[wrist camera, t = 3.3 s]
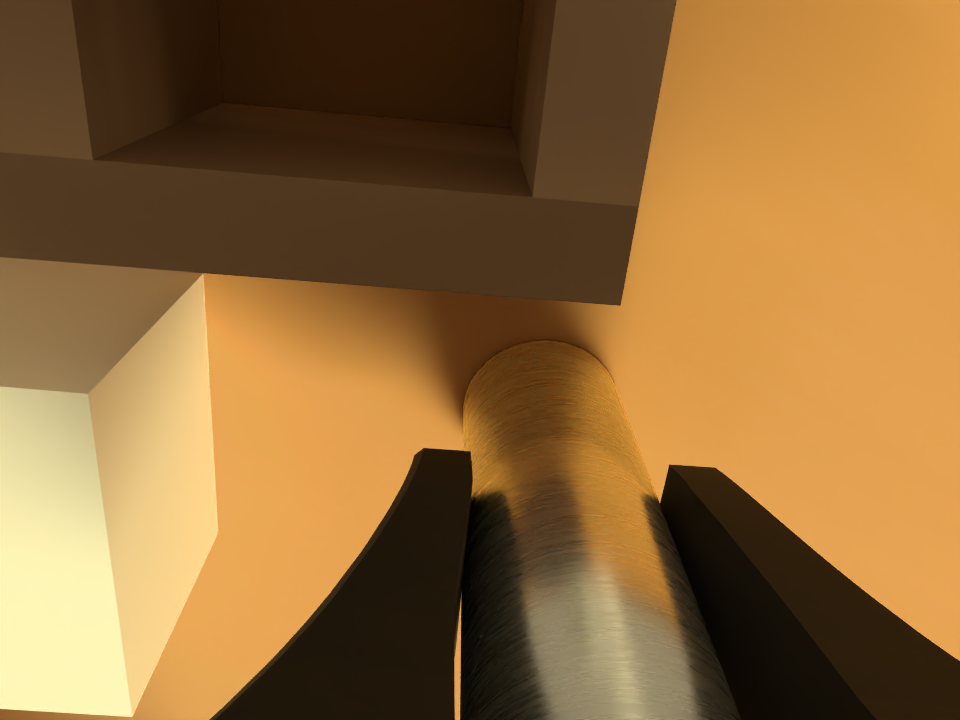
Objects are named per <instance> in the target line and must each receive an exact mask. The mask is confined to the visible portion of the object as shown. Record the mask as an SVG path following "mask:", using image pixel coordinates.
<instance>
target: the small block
mask: <svg viewBox="0 0 960 720" xmlns="http://www.w3.org/2000/svg"><path fill="white" fill-rule="evenodd" d="M217 534H218V521H217V503H216V486H215V468H214V451H213V433H212V415H211V398H210V380H209V363H208V345H207V327H206V310H205V292H204V275H203V273H194V272H184V271H172V270H159V269H146V268H133V267H120V266H108V265H95V264H82V263H69V262H56V261H44V260H31V259H18V258H5V257H0V709H11V710H28V711H44V712H61V713H77V714H93V715H110V716H126V717H132V716H133V714H134V712H135V710H136V708H137V706H138V703H139V701H140V699H141V697H142V695H143V693H144V691H145V688H146V686H147V684H148V682H149V680H150V678H151V676H152V673H153V671H154V669H155V667H156V665H157V663H158V661H159V658H160V656H161V654H162V652H163V650H164V648H165V646H166V643H167V641H168V639H169V637H170V635H171V633H172V631H173V628H174V626H175V624H176V622H177V620H178V618H179V616H180V614H181V611H182V609H183V607H184V605H185V603H186V601H187V599H188V596H189V594H190V592H191V590H192V588H193V586H194V584H195V581H196V579H197V577H198V575H199V573H200V571H201V569H202V566H203V564H204V562H205V560H206V558H207V556H208V554H209V551H210V549H211V547H212V545H213V543H214V541H215V539H216V536H217Z"/></svg>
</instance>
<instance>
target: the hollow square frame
mask: <svg viewBox="0 0 960 720" xmlns="http://www.w3.org/2000/svg"><path fill="white" fill-rule="evenodd" d="M675 5H676V0H524V2H523V12H522V22H521V31H520V41H519V51H518V60H517V70H516V80H515V89H514V99H513V109H512V118H511V128H499V127H487V126H476V125H465V124H454V123H443V122H432V121H421V120H410V119H399V118H387V117H376V116H365V115H354V114H343V113H332V112H321V111H310V110H299V109H287V108H276V107H265V106H254V105H243V104H232V103H223V100H222V82H221V65H220V48H219V30H218V13H217V0H0V257H5V258H18V259H31V260H44V261H56V262H69V263H82V264H95V265H108V266H120V267H133V268H146V269H159V270H172V271H184V272H197V273H210V274H223V275H236V276H248V277H261V278H274V279H287V280H300V281H312V282H325V283H338V284H351V285H364V286H376V287H389V288H402V289H415V290H428V291H440V292H453V293H466V294H479V295H492V296H504V297H517V298H530V299H543V300H555V301H568V302H581V303H594V304H607V305H619V306H620V305H621V300H622V294H623V289H624V283H625V278H626V272H627V267H628V262H629V256H630V251H631V245H632V240H633V234H634V229H635V223H636V218H637V212H638V207H639V202H640V196H641V191H642V185H643V180H644V174H645V169H646V163H647V158H648V152H649V147H650V142H651V136H652V131H653V125H654V120H655V114H656V109H657V103H658V98H659V93H660V87H661V82H662V76H663V71H664V65H665V60H666V54H667V49H668V43H669V38H670V33H671V27H672V22H673V16H674V11H675Z"/></svg>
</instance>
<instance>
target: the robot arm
mask: <svg viewBox="0 0 960 720" xmlns="http://www.w3.org/2000/svg"><path fill="white" fill-rule="evenodd" d="M472 484H473V473H472V460H471V451H458V450H443V449H428V448H423V449H422V450H421V451H419V452H418V453H417V454H415V455H414V459H413V462H412V465H411V468H410V470H409V472H408V475H407V477H406V479H405V481H404V483H403V485H402V487H401V489H400V491H399V493H398V494H397V496H396V498H395V500H394V501H393V503H392V505H391V507H390V509H389V510H388V512H387V513H386V515H385V516H384V518H383V520H382V521H381V523H380V524H379V526H378V527H377V529H376V530H375V532H374V534H373V535H372V537H371V538H370V540H369V541H368V543H367V544H366V546H365V547H364V549H363V550H362V552H361V553H360V554H359V556H358V557H357V558H356V560H355V561H354V562H353V564H352V565H351V566H350V568H349V569H348V570H347V572H346V573H345V574H344V575H343V577H342V578H341V579H340V581H339V582H338V583H337V585H336V586H335V587H334V589H333V590H332V591H331V593H330V594H329V595H328V596H327V598H326V599H325V600H324V601H323V603H322V604H321V605H320V606H319V607H318V609H317V610H316V611H315V612H314V613H313V614H312V616H311V617H310V618H309V619H308V620H307V621H306V623H305V624H304V625H303V626H302V627H301V628H300V629H299V631H298V632H297V633H296V634H295V635H294V636H293V637H292V638H291V639H290V640H289V641H288V643H287V644H286V645H285V646H284V647H283V648H282V649H281V650H280V651H279V652H278V653H277V654H276V656H275V657H274V658H273V659H272V660H271V661H270V662H269V663H268V664H267V665H266V666H265V667H264V668H263V669H262V670H261V671H260V672H259V673H258V674H257V675H256V676H255V677H254V678H253V679H252V680H250V681H249V682H248V683H247V684H246V685H245V686H244V687H243V688H242V689H241V690H240V691H239V692H238V693H237V694H236V695H235V696H234V697H233V698H232V699H231V700H230V701H229V702H228V703H227V704H226V705H225V706H224V707H223V708H222V709H221V710H220V711H218V712H217V713H216V714H215V715H214V716H213V717H212V718H211V719H210V720H455V711H454V657H455V649H456V641H457V631H458V621H459V611H460V602H461V592H462V577H463V569H464V561H465V553H466V543H467V533H468V523H469V514H470V504H471V494H472ZM660 506H661V508H662V511H663V514H664V516H665V519H666V522H667V524H668V527H669V530H670V532H671V535H672V538H673V540H674V543H675V546H676V548H677V551H678V553H679V556H680V559H681V561H682V564H683V567H684V569H685V572H686V575H687V577H688V580H689V583H690V585H691V588H692V590H693V593H694V596H695V598H696V601H697V604H698V606H699V609H700V612H701V614H702V617H703V620H704V622H705V625H706V628H707V630H708V633H709V635H710V638H711V641H712V643H713V646H714V649H715V651H716V654H717V657H718V659H719V662H720V665H721V667H722V670H723V672H724V675H725V678H726V680H727V683H728V686H729V688H730V691H731V694H732V696H733V699H734V702H735V704H736V707H737V710H738V712H739V715H740V717H741V720H960V661H959V660H957V659H956V658H954V657H953V656H951V655H950V654H948V653H947V652H945V651H944V650H943V649H941V648H940V647H938V646H937V645H936V644H934V643H933V642H931V641H930V640H928V639H927V638H926V637H924V636H923V635H922V634H920V633H919V632H917V631H916V630H915V629H913V628H912V627H911V626H909V625H908V624H907V623H906V622H904V621H903V620H902V619H900V618H899V617H898V616H896V615H895V614H894V613H892V612H891V611H890V610H888V609H887V608H886V607H884V606H883V605H882V604H880V603H879V602H878V601H876V600H875V599H874V598H872V597H871V596H870V595H869V594H867V593H866V592H865V591H864V590H862V589H861V588H860V587H858V586H857V585H856V584H855V583H853V582H852V581H851V580H850V579H848V578H847V577H846V576H845V575H843V574H842V573H841V572H840V571H839V570H837V569H836V568H835V567H834V566H832V565H831V564H830V563H829V562H828V561H826V560H825V559H824V558H823V557H822V556H820V555H819V554H818V553H817V552H816V551H814V550H813V549H812V548H811V547H810V546H808V545H807V544H806V543H805V542H804V541H802V540H801V539H800V538H799V537H798V536H797V535H795V534H794V533H793V532H792V531H791V530H790V529H788V528H787V527H786V526H785V525H784V524H783V523H781V522H780V521H779V520H778V519H777V518H776V517H774V516H773V515H772V514H771V513H770V512H769V511H767V510H766V509H765V508H764V507H763V506H762V505H760V504H759V503H758V502H757V501H756V500H755V499H753V498H752V497H751V496H750V495H749V494H748V493H746V492H745V491H744V490H743V489H742V488H740V487H739V486H738V485H737V484H736V483H734V482H733V481H732V480H731V479H729V478H728V477H727V476H726V475H724V474H723V473H722V472H720V471H719V470H718V469H716V468H711V467H696V466H682V465H669V469H668V473H667V477H666V481H665V486H664V490H663V494H662V498H661V502H660Z"/></svg>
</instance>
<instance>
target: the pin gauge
mask: <svg viewBox="0 0 960 720" xmlns="http://www.w3.org/2000/svg"><path fill="white" fill-rule="evenodd" d="M463 451H471V460H472V473H473V484H472V494H471V504H470V514H469V523H468V533H467V543H466V553H465V561H464V569H463V577H462V595H461V696H460V720H741V717H740V715H739V712H738V710H737V707H736V704H735V702H734V699H733V696H732V694H731V691H730V688H729V686H728V683H727V680H726V678H725V675H724V672H723V670H722V667H721V665H720V662H719V659H718V657H717V654H716V651H715V649H714V646H713V643H712V641H711V638H710V635H709V633H708V630H707V628H706V625H705V622H704V620H703V617H702V614H701V612H700V609H699V606H698V604H697V601H696V598H695V596H694V593H693V590H692V588H691V585H690V583H689V580H688V577H687V575H686V572H685V569H684V567H683V564H682V561H681V559H680V556H679V553H678V551H677V548H676V546H675V543H674V540H673V538H672V535H671V532H670V530H669V527H668V524H667V522H666V519H665V516H664V514H663V511H662V508H661V506H660V503H659V501H658V498H657V495H656V493H655V490H654V487H653V485H652V482H651V479H650V477H649V474H648V471H647V469H646V466H645V464H644V461H643V458H642V456H641V453H640V450H639V448H638V445H637V442H636V440H635V437H634V434H633V432H632V429H631V426H630V424H629V421H628V419H627V416H626V413H625V411H624V408H623V405H622V403H621V400H620V397H619V395H618V392H617V389H616V387H615V384H614V381H613V380H612V378H611V376H610V374H609V372H608V371H607V370H606V368H605V367H604V366H603V365H602V364H601V363H600V362H599V361H598V360H597V359H596V358H595V357H594V356H592V355H591V354H590V353H588V352H586V351H585V350H583V349H581V348H579V347H576V346H574V345H571V344H568V343H564V342H559V341H552V340H538V341H529V342H524V343H520V344H517V345H514V346H511V347H509V348H507V349H505V350H503V351H501V352H499V353H497V354H496V355H494V356H493V357H491V358H490V359H489V360H488V361H487V362H486V363H484V364H483V366H482V367H481V368H480V369H479V370H478V371H477V373H476V374H475V375H474V377H473V378H472V380H471V382H470V384H469V386H468V388H467V392H466V395H465V399H464V405H463Z"/></svg>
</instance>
